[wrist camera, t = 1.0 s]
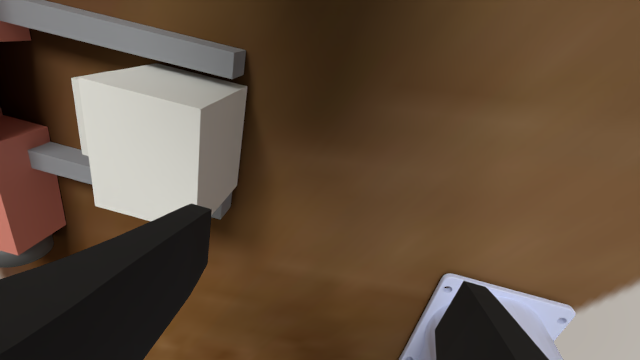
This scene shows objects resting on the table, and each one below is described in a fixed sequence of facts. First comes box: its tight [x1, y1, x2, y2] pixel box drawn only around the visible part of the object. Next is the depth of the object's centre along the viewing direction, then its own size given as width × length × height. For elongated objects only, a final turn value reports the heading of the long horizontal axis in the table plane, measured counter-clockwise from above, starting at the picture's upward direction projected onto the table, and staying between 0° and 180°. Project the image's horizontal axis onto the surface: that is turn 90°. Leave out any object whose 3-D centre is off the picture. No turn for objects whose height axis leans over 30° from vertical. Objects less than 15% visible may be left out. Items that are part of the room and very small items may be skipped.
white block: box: [71, 63, 247, 221], centre depth 16 cm, size 6×8×5 cm
